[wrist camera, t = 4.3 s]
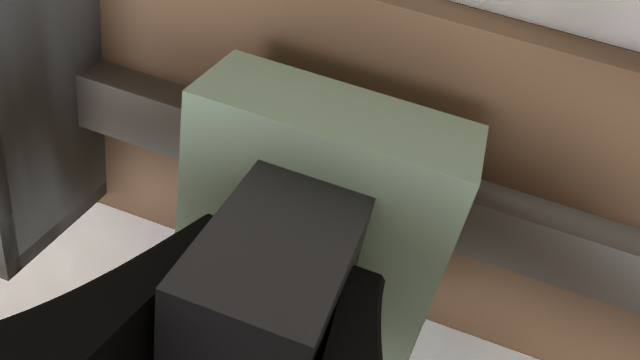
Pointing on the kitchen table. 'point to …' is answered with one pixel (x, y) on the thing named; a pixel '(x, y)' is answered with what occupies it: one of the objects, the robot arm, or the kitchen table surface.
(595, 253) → the rail base
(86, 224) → the kitchen table surface
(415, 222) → the carriage
